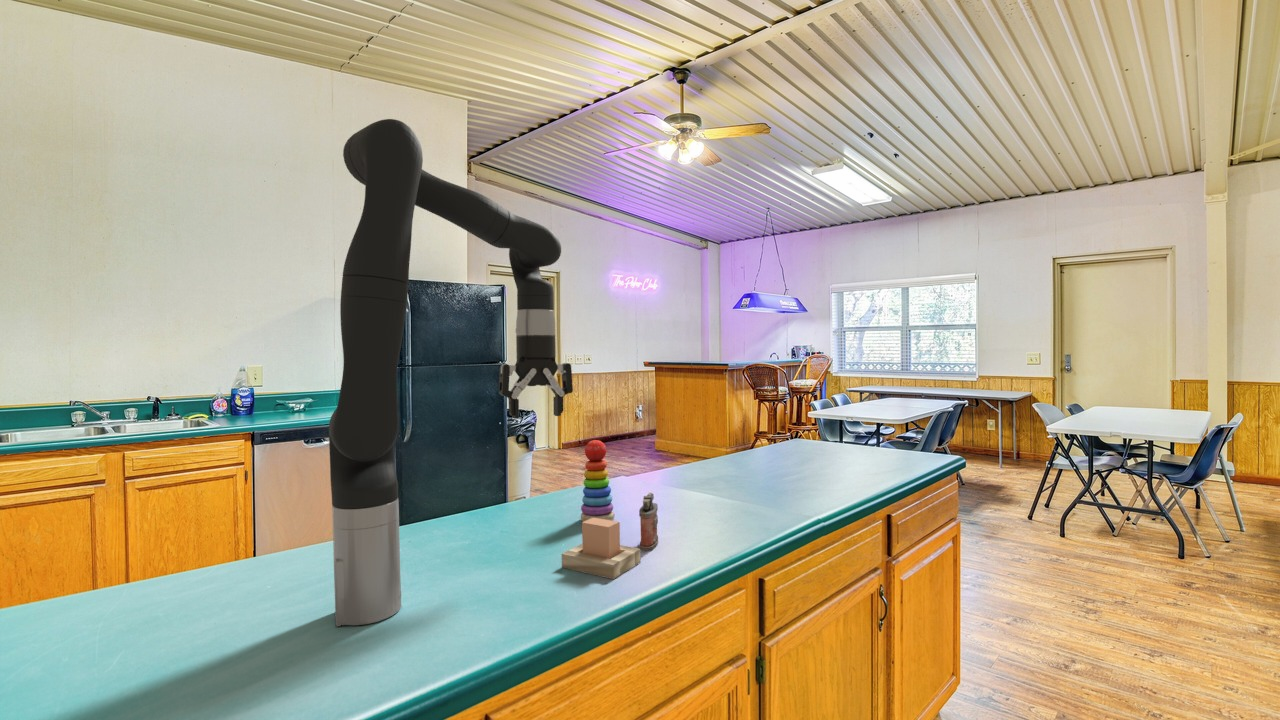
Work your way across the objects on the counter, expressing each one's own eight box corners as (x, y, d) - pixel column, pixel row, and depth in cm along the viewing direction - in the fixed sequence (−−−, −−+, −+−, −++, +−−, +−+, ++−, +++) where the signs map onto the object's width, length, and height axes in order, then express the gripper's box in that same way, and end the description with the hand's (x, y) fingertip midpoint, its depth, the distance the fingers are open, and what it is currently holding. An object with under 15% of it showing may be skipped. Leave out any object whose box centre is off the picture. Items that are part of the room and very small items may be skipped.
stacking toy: (621, 518, 136) (619, 439, 136) (601, 527, 129) (599, 444, 129) (594, 513, 140) (592, 437, 140) (573, 522, 134) (571, 441, 133)
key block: (609, 571, 104) (608, 527, 103) (583, 565, 107) (582, 522, 107) (620, 564, 107) (619, 521, 106) (594, 559, 110) (593, 517, 110)
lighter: (654, 551, 113) (652, 501, 113) (637, 550, 114) (636, 500, 113) (660, 538, 121) (659, 491, 121) (644, 537, 122) (643, 490, 121)
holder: (613, 579, 100) (613, 564, 100) (561, 567, 106) (561, 553, 106) (640, 562, 108) (640, 549, 107) (590, 552, 114) (590, 539, 113)
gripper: (505, 333, 105) (506, 421, 106) (577, 333, 112) (578, 416, 113) (494, 334, 112) (495, 417, 112) (562, 334, 119) (563, 413, 119)
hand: (536, 417), depth 112 cm, fingers open, 8 cm apart
